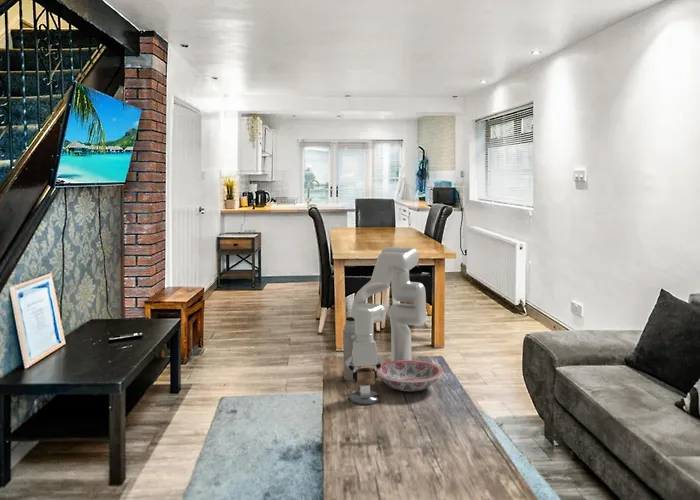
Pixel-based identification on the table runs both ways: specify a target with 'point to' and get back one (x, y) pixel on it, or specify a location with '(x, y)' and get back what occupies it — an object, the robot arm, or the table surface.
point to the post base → (362, 400)
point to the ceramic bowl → (409, 374)
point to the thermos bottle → (348, 346)
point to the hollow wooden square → (365, 376)
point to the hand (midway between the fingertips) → (364, 379)
